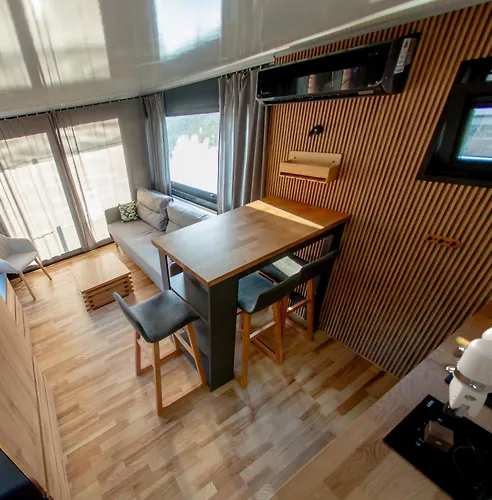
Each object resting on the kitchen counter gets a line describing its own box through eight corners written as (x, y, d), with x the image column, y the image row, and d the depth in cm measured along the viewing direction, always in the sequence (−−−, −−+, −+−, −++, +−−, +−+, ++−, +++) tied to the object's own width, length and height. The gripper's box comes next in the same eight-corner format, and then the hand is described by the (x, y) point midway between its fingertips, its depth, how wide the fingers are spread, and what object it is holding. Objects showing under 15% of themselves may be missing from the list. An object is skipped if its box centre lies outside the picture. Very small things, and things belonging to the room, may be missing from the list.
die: (453, 430, 80) (453, 444, 77) (446, 439, 82) (447, 453, 79) (430, 420, 83) (429, 433, 80) (424, 428, 86) (424, 441, 83)
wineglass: (444, 371, 100) (456, 351, 95) (444, 362, 104) (456, 341, 98) (466, 380, 96) (481, 359, 91) (466, 369, 100) (480, 349, 94)
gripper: (500, 406, 64) (470, 443, 73) (493, 365, 73) (467, 402, 81) (455, 389, 69) (432, 425, 78) (453, 352, 78) (432, 389, 86)
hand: (450, 413), depth 79 cm, fingers closed
